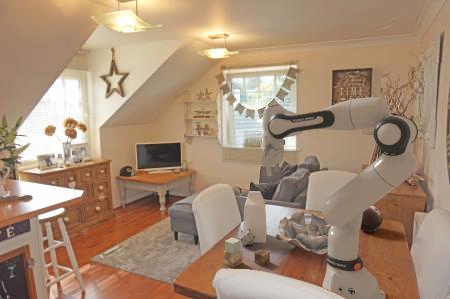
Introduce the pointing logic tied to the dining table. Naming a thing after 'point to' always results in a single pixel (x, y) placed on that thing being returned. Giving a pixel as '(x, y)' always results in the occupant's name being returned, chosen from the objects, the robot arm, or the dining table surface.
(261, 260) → the walnut block
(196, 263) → the dining table surface
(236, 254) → the oak base block
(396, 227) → the dining table surface
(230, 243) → the sage block
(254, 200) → the milk
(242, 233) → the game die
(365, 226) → the wooden sphere
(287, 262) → the dining table surface
